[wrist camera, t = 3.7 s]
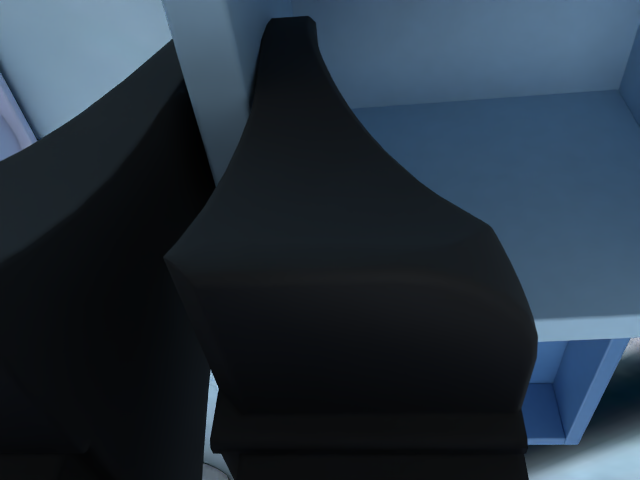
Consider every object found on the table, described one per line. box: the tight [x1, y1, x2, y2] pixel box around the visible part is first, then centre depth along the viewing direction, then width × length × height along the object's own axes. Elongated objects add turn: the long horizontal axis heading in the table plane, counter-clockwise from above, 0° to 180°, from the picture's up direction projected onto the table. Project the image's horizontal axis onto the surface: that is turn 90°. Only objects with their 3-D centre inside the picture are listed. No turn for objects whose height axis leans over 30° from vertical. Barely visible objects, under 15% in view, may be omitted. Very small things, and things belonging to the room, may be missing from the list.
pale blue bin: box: [161, 0, 640, 342], centre depth 10 cm, size 9×8×7 cm
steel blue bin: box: [522, 338, 630, 445], centre depth 26 cm, size 15×13×4 cm
